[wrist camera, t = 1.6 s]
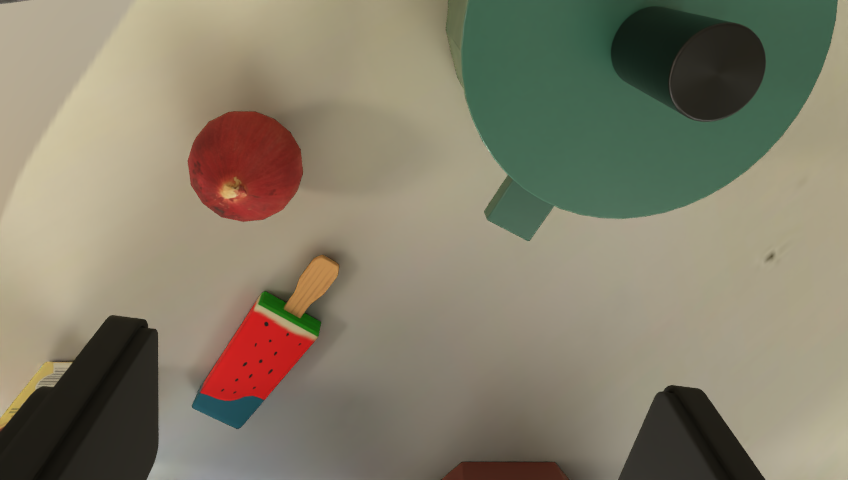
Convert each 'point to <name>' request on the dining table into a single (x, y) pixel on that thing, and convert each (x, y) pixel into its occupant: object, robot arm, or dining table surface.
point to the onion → (245, 166)
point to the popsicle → (264, 348)
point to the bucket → (506, 471)
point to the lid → (637, 93)
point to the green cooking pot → (511, 200)
